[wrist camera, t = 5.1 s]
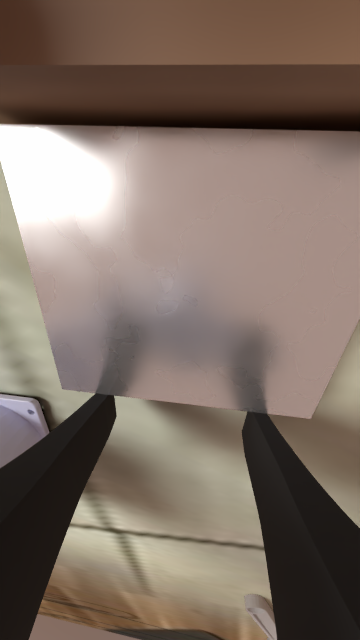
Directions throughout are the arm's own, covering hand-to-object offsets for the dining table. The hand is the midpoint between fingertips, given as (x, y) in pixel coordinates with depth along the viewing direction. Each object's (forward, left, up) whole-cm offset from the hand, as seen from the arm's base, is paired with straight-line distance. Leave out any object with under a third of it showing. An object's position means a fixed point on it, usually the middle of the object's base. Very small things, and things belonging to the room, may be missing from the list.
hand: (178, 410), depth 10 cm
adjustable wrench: (-46, -18, -2) cm, 49 cm away
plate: (+6, 0, -2) cm, 7 cm away
